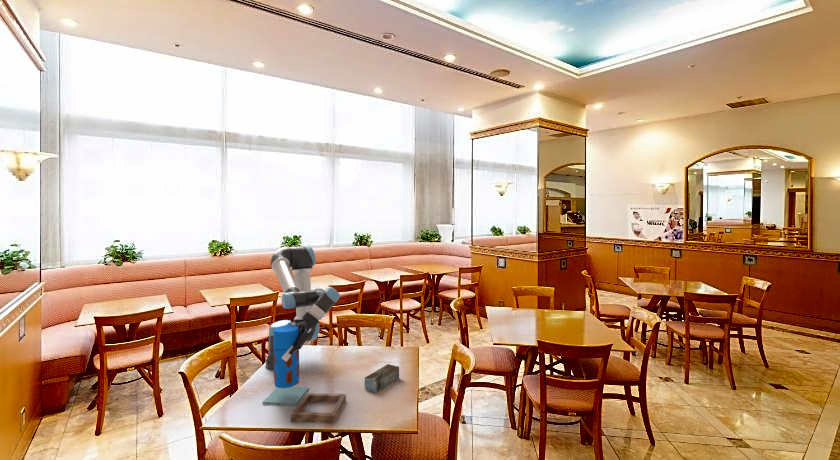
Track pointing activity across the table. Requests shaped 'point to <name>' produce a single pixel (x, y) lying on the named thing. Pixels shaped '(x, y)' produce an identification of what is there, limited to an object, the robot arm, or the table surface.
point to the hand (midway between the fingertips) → (280, 355)
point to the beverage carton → (381, 378)
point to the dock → (318, 417)
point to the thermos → (283, 371)
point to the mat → (286, 396)
